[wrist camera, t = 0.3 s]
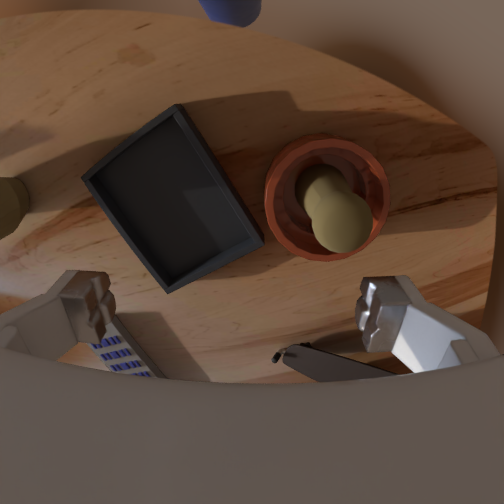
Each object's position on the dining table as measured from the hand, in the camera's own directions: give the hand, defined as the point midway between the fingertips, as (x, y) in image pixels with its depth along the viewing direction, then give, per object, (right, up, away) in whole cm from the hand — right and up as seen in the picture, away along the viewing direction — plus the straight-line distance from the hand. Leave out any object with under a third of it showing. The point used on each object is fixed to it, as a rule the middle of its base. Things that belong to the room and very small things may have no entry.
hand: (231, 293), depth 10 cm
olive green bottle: (+8, +8, +24) cm, 27 cm away
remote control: (-20, -18, +38) cm, 47 cm away
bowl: (+8, +8, +24) cm, 27 cm away
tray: (-8, +7, +25) cm, 27 cm away
